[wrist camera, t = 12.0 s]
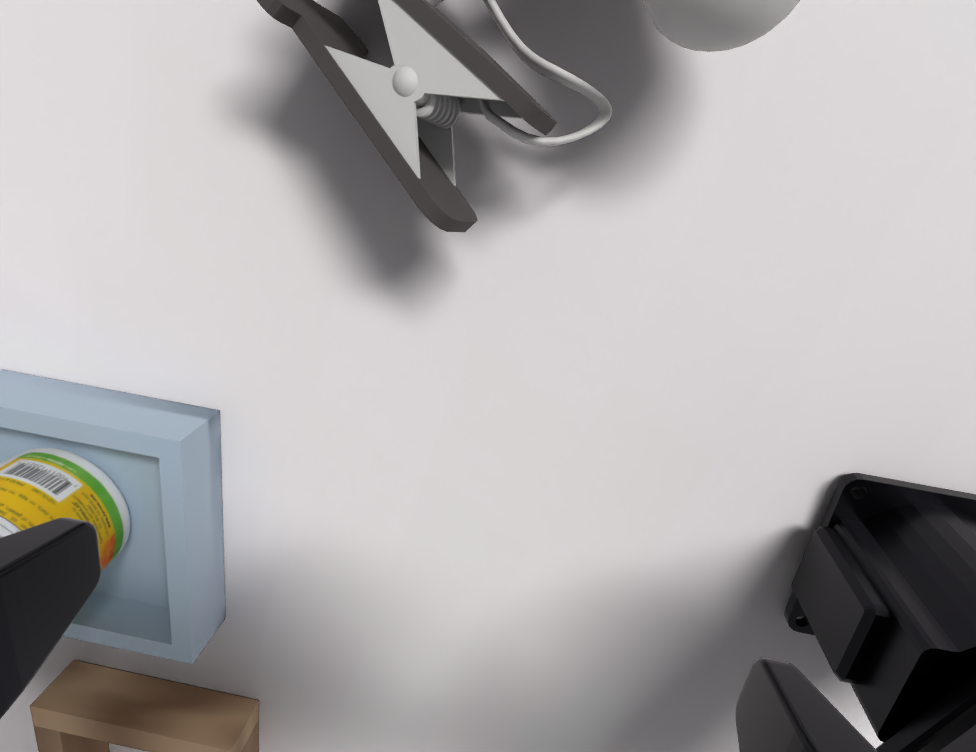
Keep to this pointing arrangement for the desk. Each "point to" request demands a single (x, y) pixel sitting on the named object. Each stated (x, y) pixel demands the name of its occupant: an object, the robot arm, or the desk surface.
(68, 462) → the supplement bottle
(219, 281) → the desk surface
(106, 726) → the frame
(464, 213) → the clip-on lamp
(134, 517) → the tray
